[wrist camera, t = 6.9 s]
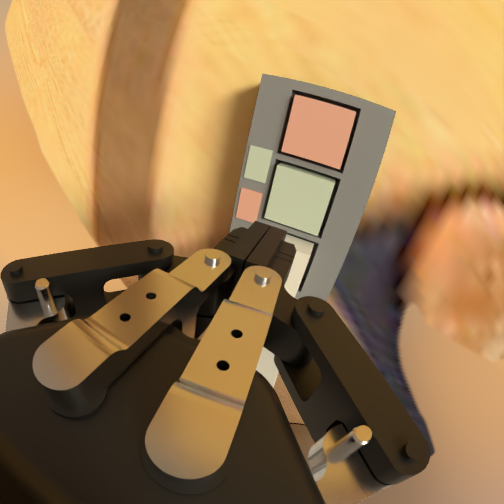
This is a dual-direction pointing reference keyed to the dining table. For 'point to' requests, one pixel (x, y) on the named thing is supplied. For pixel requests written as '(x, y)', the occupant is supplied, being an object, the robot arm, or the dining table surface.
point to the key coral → (318, 131)
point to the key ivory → (298, 263)
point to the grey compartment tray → (347, 177)
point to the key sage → (299, 197)
